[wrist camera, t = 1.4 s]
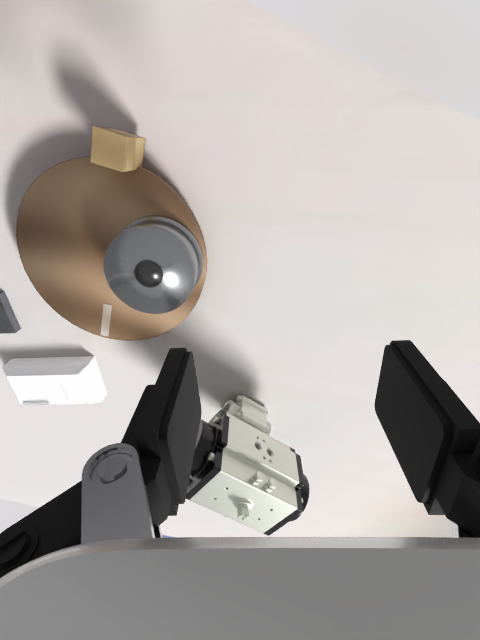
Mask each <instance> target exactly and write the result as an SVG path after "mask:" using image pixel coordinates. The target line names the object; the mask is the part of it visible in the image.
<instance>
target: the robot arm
mask: <svg viewBox="0 0 480 640" xmlns="http://www.w3.org/2000/svg"><path fill="white" fill-rule="evenodd" d="M375 411H376V414H377V416H378V418H379V421H380V423H381V425H382V427H383V429H384V431H385V433H386V436H387V438H388V440H389V442H390V444H391V446H392V448H393V451H394V453H395V455H396V457H397V459H398V461H399V464H400V466H401V468H402V470H403V472H404V474H405V476H406V479H407V481H408V483H409V485H410V487H411V489H412V491H413V494H414V496H415V498H416V500H417V501H418V502H420V503H423V504H424V506H425V508H426V510H427V512H428V514H429V515H446V517H447V518H448V519H449V520H451V521H452V534H453V538H430V537H185V538H162V534H161V529H160V524H161V523H163V522H164V521H165V520H166V519H167V517H168V516H173V515H177V510H178V505H179V504H184V502H185V498H186V493H187V488H188V483H189V477H190V472H191V467H192V462H193V456H194V451H195V446H196V441H197V435H198V430H199V425H200V420H201V403H200V397H199V391H198V384H197V378H196V372H195V366H194V359H193V354H192V352H187V349H186V348H171V349H170V350H169V352H168V355H167V357H166V359H165V362H164V364H163V367H162V369H161V372H160V374H159V377H158V379H157V381H156V384H155V385H148V386H146V388H145V390H144V392H143V394H142V397H141V399H140V401H139V403H138V406H137V408H136V410H135V412H134V415H133V417H132V419H131V421H130V424H129V426H128V428H127V430H126V433H125V435H124V437H123V439H122V442H121V443H116V444H112V445H108V446H106V447H104V448H102V449H100V450H99V451H97V452H96V453H95V454H93V455H92V456H91V458H90V459H89V460H88V461H87V463H86V464H85V466H84V468H83V473H82V481H80V482H79V483H77V484H76V485H74V486H73V487H71V488H69V489H68V490H66V491H65V492H63V493H62V494H60V495H59V496H57V497H56V498H54V499H52V500H51V501H49V502H48V503H46V504H45V505H43V506H42V507H40V508H38V509H37V510H35V511H34V512H32V513H31V514H29V515H28V516H26V517H24V518H23V519H21V520H20V521H18V522H17V523H15V524H14V525H12V526H10V527H9V528H7V529H6V530H5V531H3V532H2V533H1V534H0V640H480V423H479V422H478V421H477V419H476V418H475V417H474V416H473V414H472V413H471V412H470V411H469V410H468V408H467V407H466V406H465V405H464V404H463V402H462V401H461V400H460V399H459V398H458V396H457V395H456V394H455V393H454V391H453V390H452V389H451V388H450V387H449V385H448V384H447V383H446V382H445V381H444V380H443V379H442V378H441V377H440V376H439V374H438V373H437V372H436V371H435V370H434V368H433V367H432V366H431V365H430V364H429V362H428V361H427V360H426V359H425V357H424V356H423V355H422V354H421V353H420V351H419V350H418V349H417V348H416V346H415V345H414V344H413V343H412V342H411V341H410V340H402V341H392V342H391V343H390V345H386V346H385V349H384V355H383V360H382V366H381V371H380V377H379V383H378V388H377V394H376V399H375Z"/></svg>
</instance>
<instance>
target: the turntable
mask: <svg viewBox="0 0 480 640" xmlns="http://www.w3.org/2000/svg"><path fill="white" fill-rule="evenodd" d="M145 141H146V138H143V137H139V136H136V135H133V134H130V133H127V132H124V131H121V130H118V129H111V128H104V127H96V126H93V128H92V144H91V157H85V158H77V159H72V160H68V161H65V162H62V163H60V164H57V165H55V166H53V167H52V168H50V169H48V170H47V171H45V172H44V173H43V174H42V175H40V176H39V177H38V178H37V179H36V180H35V181H34V182H33V184H32V185H31V186H30V187H29V189H28V190H27V192H26V194H25V196H24V198H23V200H22V202H21V205H20V208H19V212H18V217H17V226H16V236H17V245H18V250H19V254H20V258H21V261H22V264H23V266H24V269H25V271H26V273H27V275H28V277H29V279H30V281H31V282H32V284H33V285H34V287H35V289H36V290H37V292H38V293H39V294H40V295H41V296H42V298H43V299H44V300H45V301H46V302H47V303H48V304H49V305H50V306H51V307H52V308H53V309H54V310H55V311H56V312H57V313H58V314H60V315H61V316H62V317H63V318H65V319H66V320H68V321H69V322H71V323H72V324H74V325H76V326H78V327H79V328H81V329H83V330H85V331H88V332H90V333H93V334H95V335H99V336H102V337H105V338H110V339H115V340H142V339H148V338H152V337H156V336H158V335H161V334H163V333H166V332H168V331H169V330H171V329H173V328H174V327H176V326H177V325H178V324H180V323H181V322H182V321H183V320H184V319H185V318H186V317H187V316H188V315H189V314H190V312H191V311H192V309H193V308H194V307H195V305H196V303H197V301H198V299H199V297H200V294H201V291H202V288H203V285H204V282H205V277H206V272H207V254H206V246H205V242H204V238H203V234H202V232H201V229H200V226H199V224H198V222H197V220H196V218H195V216H194V214H193V212H192V211H191V209H190V208H189V206H188V205H187V203H186V202H185V201H184V199H183V198H182V197H181V196H180V195H179V194H178V192H177V191H176V190H175V189H173V188H172V187H171V186H170V185H169V184H168V183H167V182H166V181H164V180H163V179H162V178H160V177H159V176H157V175H156V174H155V173H153V172H151V171H149V170H147V169H146V168H144V167H142V164H143V156H144V149H145ZM148 215H163V216H167V217H171V218H173V219H176V220H178V221H179V222H181V223H183V224H184V225H185V226H187V227H188V228H189V229H190V230H191V231H192V233H193V234H194V235H195V236H196V238H197V240H198V241H199V244H200V246H201V249H202V252H203V260H204V264H203V271H202V274H201V277H200V279H199V281H198V283H197V285H196V286H195V288H194V289H193V290H192V292H191V294H190V295H189V297H188V299H187V300H186V301H185V302H184V303H183V304H182V305H181V306H180V307H178V308H177V309H175V310H173V311H170V312H167V313H162V314H149V313H144V312H140V311H138V310H135V309H133V308H131V307H129V306H128V305H126V304H125V303H123V302H122V301H121V300H120V299H119V298H118V297H117V296H116V295H115V294H114V293H113V291H112V290H111V288H110V287H109V284H108V282H107V280H106V277H105V273H104V265H103V264H104V256H105V252H106V250H107V247H108V246H109V244H110V243H111V241H112V240H113V239H114V238H115V237H116V236H117V235H119V234H120V233H121V232H122V231H123V230H124V228H125V227H127V226H128V225H129V224H130V223H132V222H133V221H135V220H137V219H139V218H141V217H144V216H148Z"/></svg>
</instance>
